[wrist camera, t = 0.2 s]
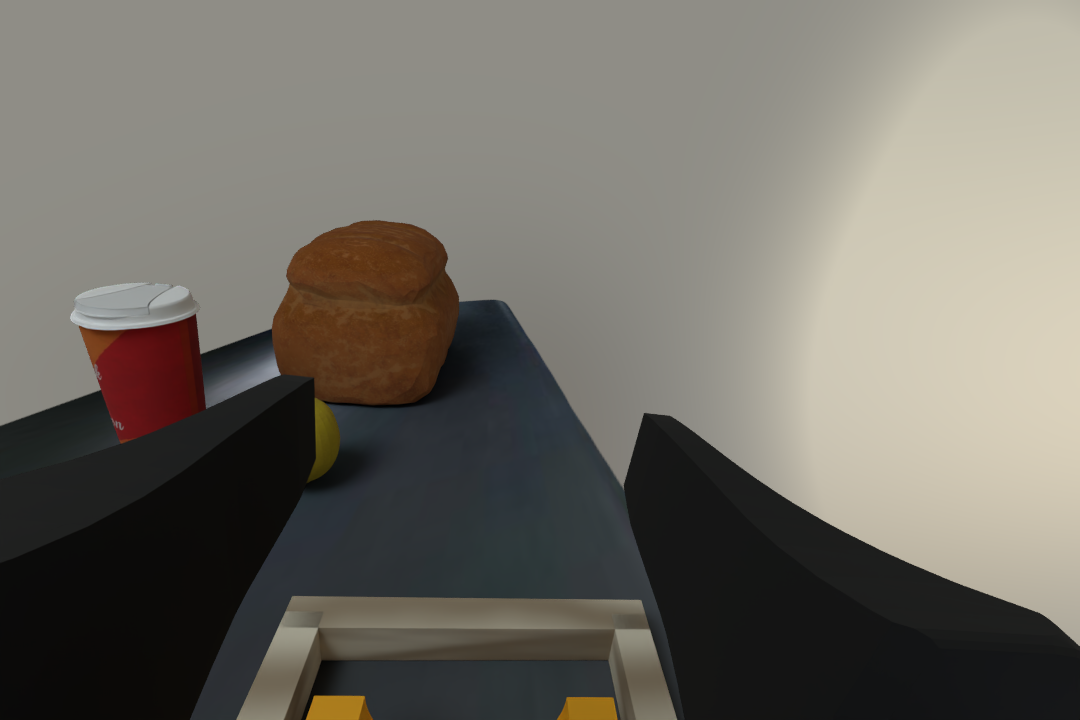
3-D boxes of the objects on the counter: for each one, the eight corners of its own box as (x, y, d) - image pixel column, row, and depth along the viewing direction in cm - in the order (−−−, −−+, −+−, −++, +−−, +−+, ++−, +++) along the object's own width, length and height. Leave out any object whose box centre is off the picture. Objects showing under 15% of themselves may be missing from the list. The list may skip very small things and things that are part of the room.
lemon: (313, 454, 45) (306, 372, 42) (356, 479, 43) (352, 393, 39) (252, 485, 41) (238, 395, 38) (296, 514, 38) (285, 420, 35)
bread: (264, 403, 53) (242, 237, 46) (338, 331, 72) (330, 208, 66) (436, 416, 53) (438, 254, 47) (462, 341, 73) (467, 220, 66)
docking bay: (688, 830, 23) (700, 796, 22) (205, 847, 20) (195, 811, 20) (634, 629, 32) (640, 600, 31) (296, 628, 30) (292, 596, 29)
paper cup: (156, 427, 47) (122, 276, 41) (241, 435, 47) (218, 285, 41) (84, 479, 39) (31, 305, 34) (185, 488, 40) (148, 316, 34)
